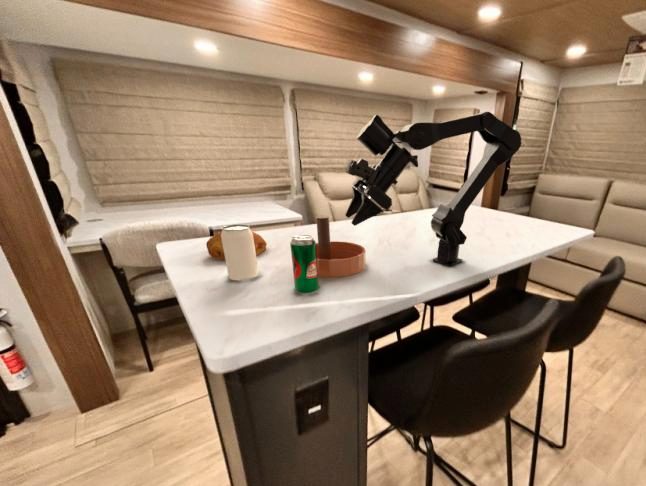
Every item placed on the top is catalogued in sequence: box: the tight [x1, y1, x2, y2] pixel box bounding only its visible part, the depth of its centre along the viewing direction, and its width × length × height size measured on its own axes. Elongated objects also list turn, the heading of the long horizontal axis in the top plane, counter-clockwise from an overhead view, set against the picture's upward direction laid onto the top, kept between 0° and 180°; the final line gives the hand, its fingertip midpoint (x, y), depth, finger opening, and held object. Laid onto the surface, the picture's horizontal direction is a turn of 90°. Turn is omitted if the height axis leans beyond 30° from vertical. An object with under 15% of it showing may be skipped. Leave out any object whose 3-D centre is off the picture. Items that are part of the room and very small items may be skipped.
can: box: [221, 224, 260, 282], centre depth 71 cm, size 6×6×12 cm
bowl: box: [316, 240, 367, 279], centre depth 80 cm, size 16×16×5 cm
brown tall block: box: [315, 215, 331, 260], centre depth 78 cm, size 4×3×13 cm
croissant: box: [206, 231, 267, 261], centre depth 88 cm, size 14×16×8 cm
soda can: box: [289, 234, 320, 294], centre depth 66 cm, size 5×5×12 cm
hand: (349, 220), depth 76 cm, fingers open, 9 cm apart
